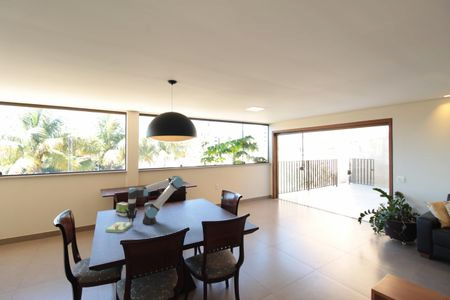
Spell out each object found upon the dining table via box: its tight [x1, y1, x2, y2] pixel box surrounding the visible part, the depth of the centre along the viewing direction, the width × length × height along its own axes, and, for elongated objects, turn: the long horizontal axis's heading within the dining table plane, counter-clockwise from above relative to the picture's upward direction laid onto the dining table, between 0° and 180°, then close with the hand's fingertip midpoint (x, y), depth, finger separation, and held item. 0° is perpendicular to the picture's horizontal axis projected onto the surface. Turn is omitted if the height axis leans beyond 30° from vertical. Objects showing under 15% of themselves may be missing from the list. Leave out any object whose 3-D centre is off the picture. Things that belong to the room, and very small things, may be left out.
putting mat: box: [105, 221, 133, 234], centre depth 222 cm, size 17×22×3 cm
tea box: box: [115, 201, 129, 217], centre depth 269 cm, size 15×10×15 cm
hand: (131, 224), depth 222 cm, fingers closed
